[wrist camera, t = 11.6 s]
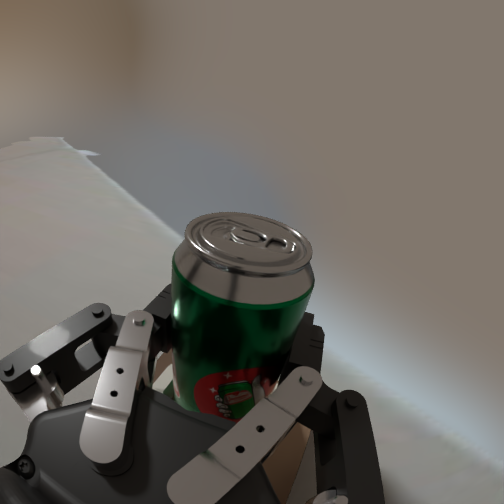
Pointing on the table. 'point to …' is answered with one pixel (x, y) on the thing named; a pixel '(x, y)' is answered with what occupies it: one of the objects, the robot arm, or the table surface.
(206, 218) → the soda can
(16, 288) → the table surface
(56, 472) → the robot arm
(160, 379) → the socket plate
